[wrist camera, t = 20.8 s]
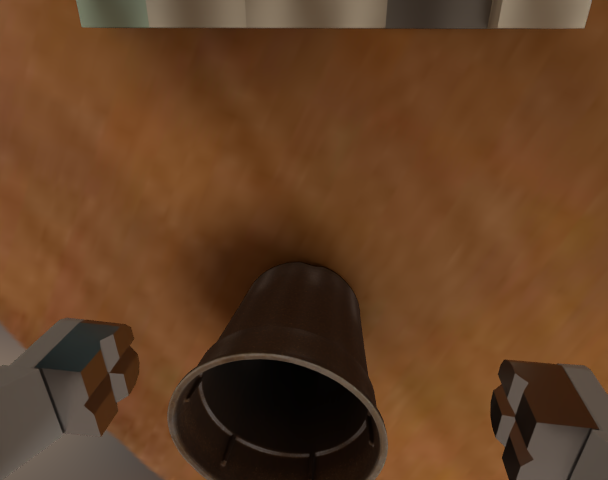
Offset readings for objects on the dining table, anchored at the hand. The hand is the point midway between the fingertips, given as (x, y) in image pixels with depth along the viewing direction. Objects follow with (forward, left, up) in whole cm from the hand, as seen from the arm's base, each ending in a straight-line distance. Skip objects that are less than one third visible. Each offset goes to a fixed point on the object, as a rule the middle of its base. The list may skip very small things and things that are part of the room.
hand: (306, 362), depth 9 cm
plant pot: (+4, +20, -29) cm, 36 cm away
